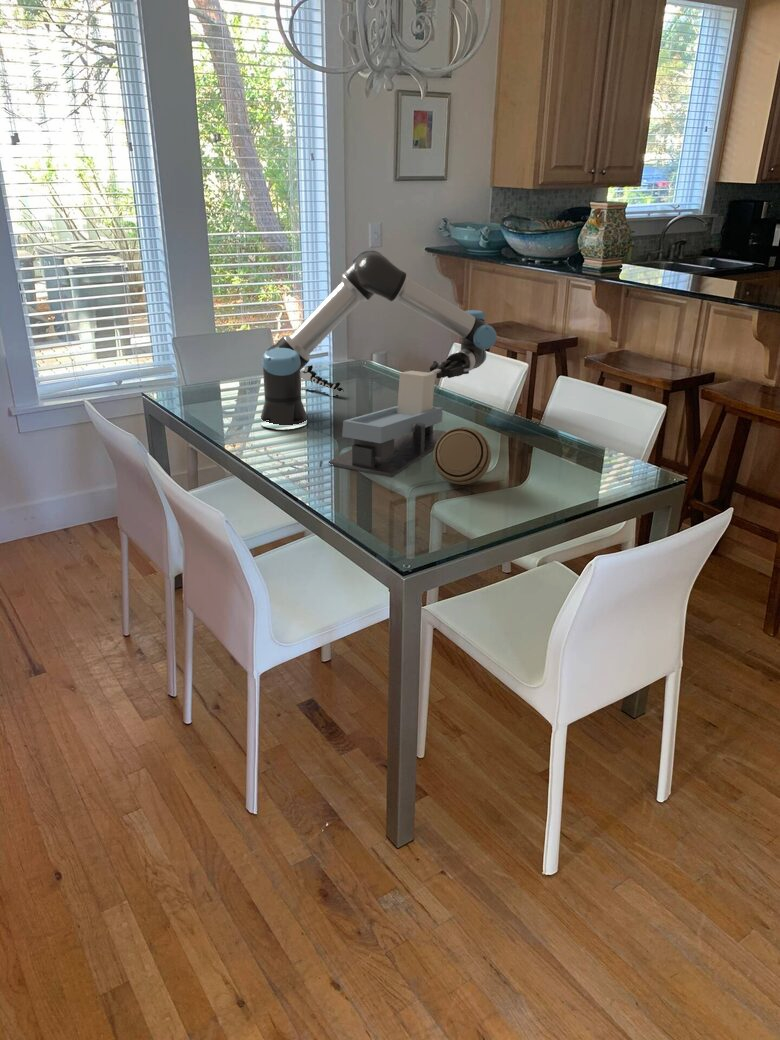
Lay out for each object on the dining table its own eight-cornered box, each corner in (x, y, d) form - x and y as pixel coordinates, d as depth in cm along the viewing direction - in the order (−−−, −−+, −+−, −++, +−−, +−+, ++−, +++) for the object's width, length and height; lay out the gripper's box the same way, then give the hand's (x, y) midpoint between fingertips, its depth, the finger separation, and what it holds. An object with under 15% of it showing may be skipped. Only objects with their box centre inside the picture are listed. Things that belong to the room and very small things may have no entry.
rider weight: (408, 409, 245) (411, 370, 242) (432, 412, 242) (435, 373, 238) (397, 412, 239) (399, 372, 235) (420, 416, 235) (423, 376, 232)
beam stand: (397, 426, 255) (398, 399, 251) (454, 436, 246) (455, 408, 243) (328, 464, 221) (327, 433, 217) (391, 477, 212) (392, 445, 208)
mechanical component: (423, 477, 212) (424, 423, 206) (471, 470, 218) (474, 417, 212) (449, 496, 200) (451, 439, 194) (499, 488, 206) (503, 433, 199)
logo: (297, 387, 298) (300, 362, 293) (301, 385, 300) (304, 361, 295) (336, 408, 288) (340, 383, 282) (341, 407, 289) (345, 382, 284)
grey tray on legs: (404, 431, 252) (406, 402, 249) (441, 437, 246) (444, 407, 243) (339, 454, 218) (341, 420, 215) (381, 461, 212) (383, 427, 209)
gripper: (477, 376, 261) (448, 392, 242) (441, 371, 266) (410, 386, 247) (479, 353, 258) (449, 367, 239) (442, 349, 263) (411, 362, 244)
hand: (429, 377), depth 243 cm, fingers closed
